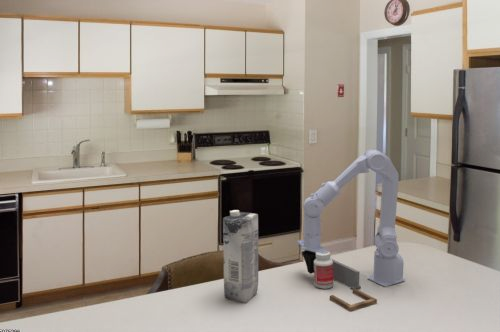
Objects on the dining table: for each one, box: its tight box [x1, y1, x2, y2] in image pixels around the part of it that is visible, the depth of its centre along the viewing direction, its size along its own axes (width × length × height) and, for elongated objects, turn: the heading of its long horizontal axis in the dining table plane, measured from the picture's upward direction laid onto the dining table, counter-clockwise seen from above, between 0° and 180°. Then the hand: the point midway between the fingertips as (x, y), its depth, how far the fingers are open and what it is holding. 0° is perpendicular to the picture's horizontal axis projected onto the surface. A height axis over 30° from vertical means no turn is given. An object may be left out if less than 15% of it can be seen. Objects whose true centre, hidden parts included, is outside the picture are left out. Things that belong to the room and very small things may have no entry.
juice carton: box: [222, 209, 259, 304], centre depth 143 cm, size 9×10×27 cm
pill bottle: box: [313, 251, 335, 290], centre depth 152 cm, size 6×6×11 cm
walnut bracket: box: [329, 289, 378, 312], centre depth 141 cm, size 10×9×1 cm
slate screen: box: [331, 258, 362, 291], centre depth 155 cm, size 3×14×6 cm, turn 30°
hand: (311, 272), depth 158 cm, fingers closed
